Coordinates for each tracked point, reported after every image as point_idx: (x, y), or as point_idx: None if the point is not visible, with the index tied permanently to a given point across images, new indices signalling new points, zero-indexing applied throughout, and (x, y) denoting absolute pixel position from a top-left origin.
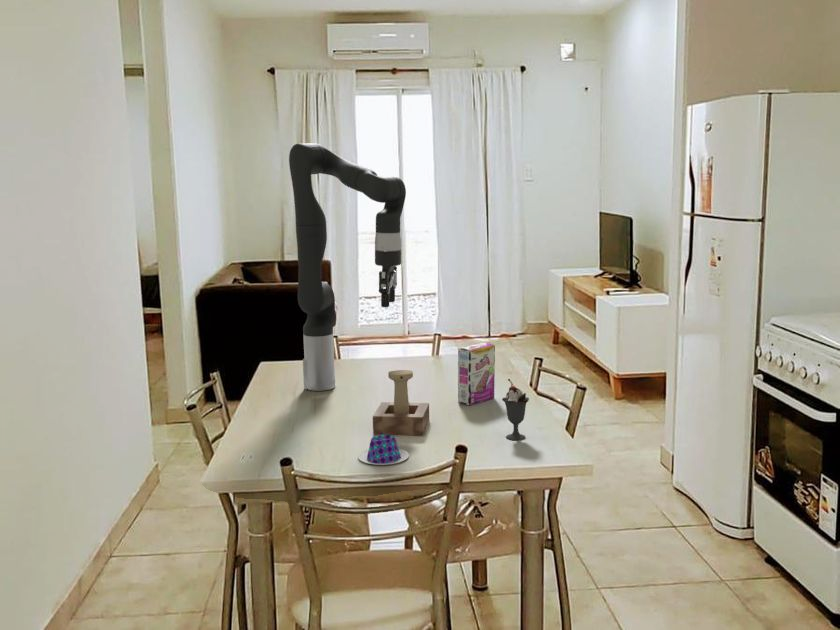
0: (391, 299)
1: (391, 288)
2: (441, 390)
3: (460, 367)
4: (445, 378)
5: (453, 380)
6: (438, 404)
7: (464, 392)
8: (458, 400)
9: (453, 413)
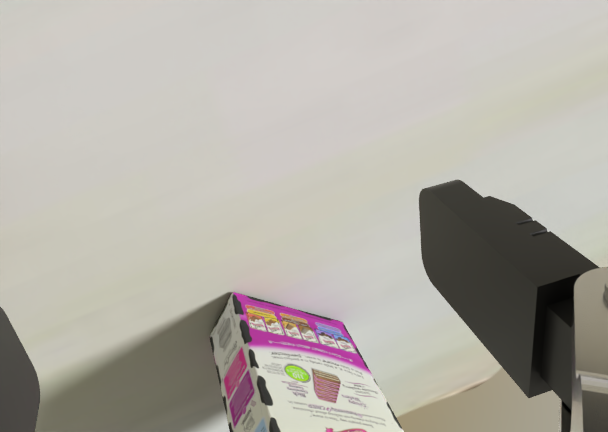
0: (439, 256)
1: (557, 364)
2: (379, 173)
3: (252, 394)
4: (543, 123)
5: (517, 161)
6: (193, 237)
7: (224, 344)
8: (231, 298)
9: (101, 326)
